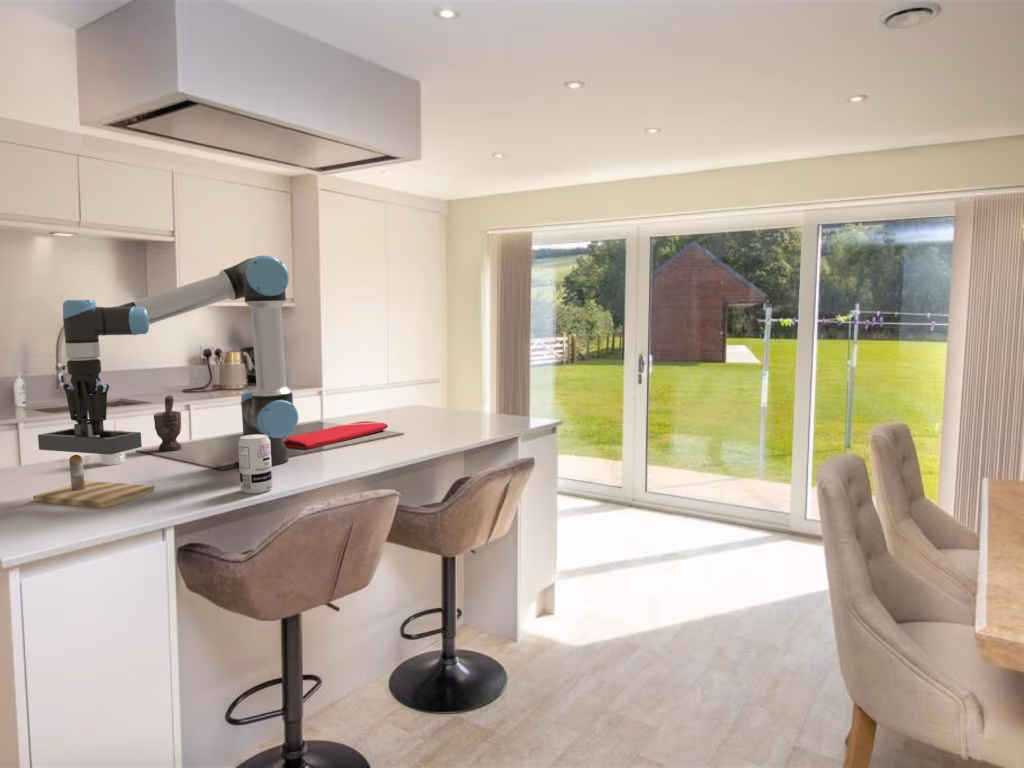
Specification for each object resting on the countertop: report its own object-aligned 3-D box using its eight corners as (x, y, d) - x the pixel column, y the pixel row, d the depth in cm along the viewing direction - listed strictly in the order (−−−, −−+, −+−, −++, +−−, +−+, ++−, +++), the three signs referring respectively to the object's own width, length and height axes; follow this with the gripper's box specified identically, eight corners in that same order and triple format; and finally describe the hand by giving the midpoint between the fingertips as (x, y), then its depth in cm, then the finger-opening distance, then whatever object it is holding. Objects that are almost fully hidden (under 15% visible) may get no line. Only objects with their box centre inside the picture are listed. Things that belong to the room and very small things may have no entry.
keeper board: (154, 491, 190) (151, 452, 189) (105, 508, 175) (101, 465, 174) (86, 485, 197) (83, 447, 196) (33, 501, 182) (29, 460, 181)
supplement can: (245, 487, 194) (242, 434, 192) (276, 486, 194) (273, 433, 193) (236, 495, 186) (233, 439, 184) (268, 493, 186) (265, 439, 184)
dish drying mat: (278, 446, 251) (277, 436, 251) (360, 428, 285) (360, 419, 285) (307, 451, 243) (306, 440, 242) (389, 432, 276) (388, 422, 276)
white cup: (114, 466, 221) (112, 435, 220) (93, 465, 223) (90, 434, 222) (132, 460, 229) (130, 430, 228) (112, 459, 231) (109, 430, 229)
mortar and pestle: (193, 449, 245) (189, 393, 243) (169, 454, 238) (165, 396, 236) (175, 446, 252) (171, 391, 249) (151, 450, 245) (147, 394, 242)
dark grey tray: (73, 442, 193) (71, 417, 192) (141, 447, 186) (140, 421, 185) (39, 449, 183) (36, 423, 183) (110, 454, 176) (108, 427, 175)
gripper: (118, 358, 183) (124, 445, 186) (74, 357, 188) (81, 443, 190) (93, 360, 176) (100, 451, 179) (48, 359, 180) (56, 448, 183)
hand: (90, 447), depth 185 cm, fingers closed on dark grey tray, 2 cm apart
